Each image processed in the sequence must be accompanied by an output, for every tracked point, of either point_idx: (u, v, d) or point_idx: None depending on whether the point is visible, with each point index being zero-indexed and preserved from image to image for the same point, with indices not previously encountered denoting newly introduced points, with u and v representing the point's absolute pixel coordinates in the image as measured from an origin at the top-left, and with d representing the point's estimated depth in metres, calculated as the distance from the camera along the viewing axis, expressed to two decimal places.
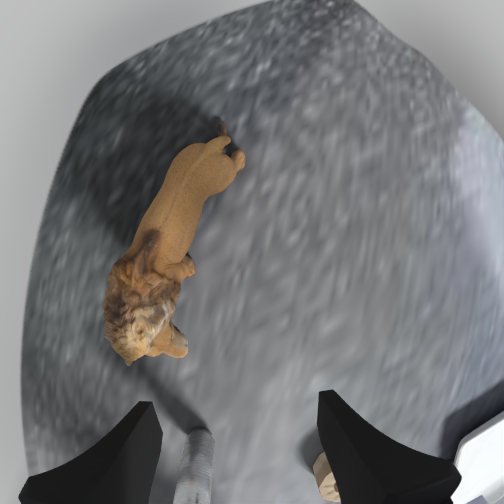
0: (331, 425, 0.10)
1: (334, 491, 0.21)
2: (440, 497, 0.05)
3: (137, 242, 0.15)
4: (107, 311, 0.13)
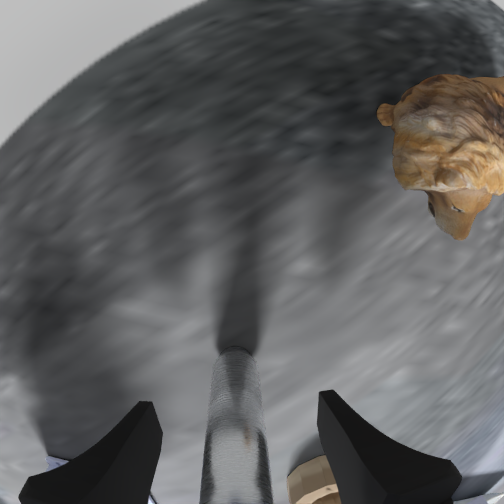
0: (331, 426, 0.10)
1: None
2: (440, 497, 0.05)
3: None
4: (475, 101, 0.06)
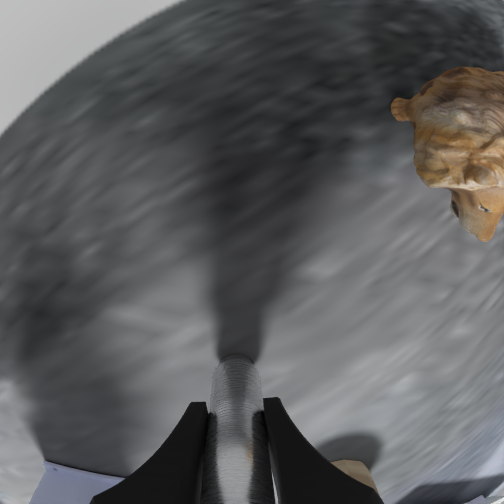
0: (269, 434, 0.10)
1: None
2: None
3: None
4: (503, 95, 0.05)
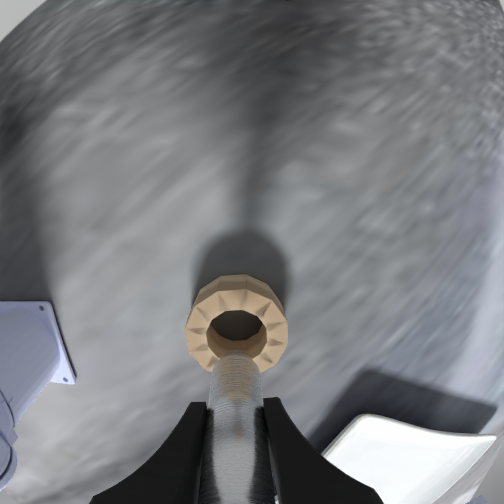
0: (269, 434, 0.10)
1: (204, 333, 0.19)
2: None
3: None
4: None
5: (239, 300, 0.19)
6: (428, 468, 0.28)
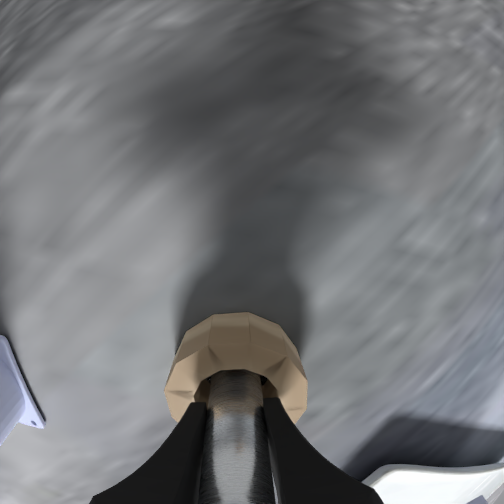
0: (269, 434, 0.10)
1: (192, 397, 0.13)
2: None
3: None
4: None
5: (240, 357, 0.12)
6: (447, 499, 0.22)
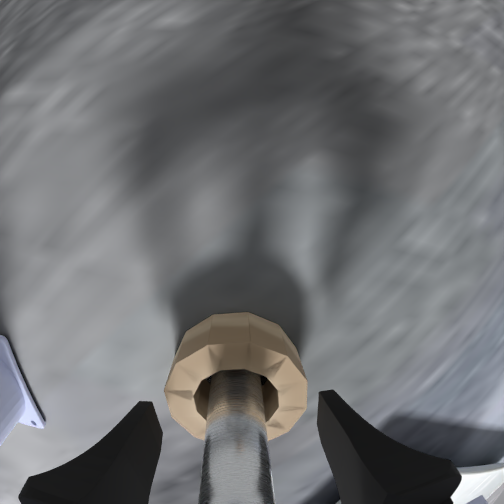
0: (331, 425, 0.10)
1: (192, 397, 0.13)
2: (440, 497, 0.05)
3: None
4: None
5: (240, 357, 0.12)
6: None
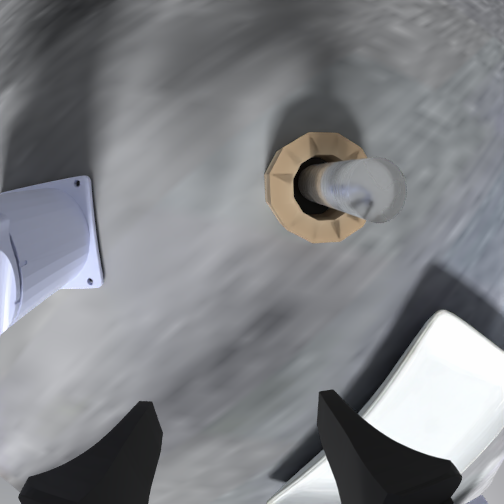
0: (331, 425, 0.10)
1: (291, 181, 0.17)
2: (440, 497, 0.05)
3: None
4: None
5: (330, 144, 0.17)
6: (477, 411, 0.27)
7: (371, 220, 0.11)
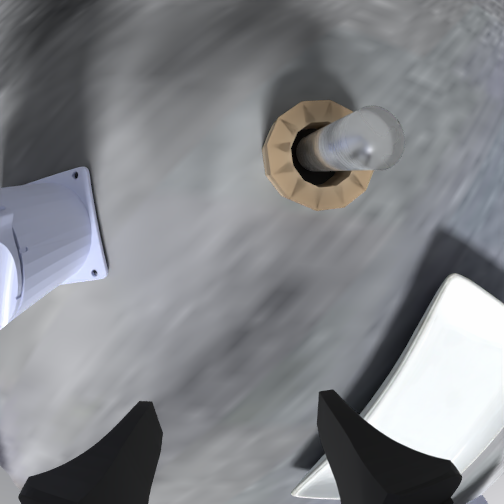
0: (331, 425, 0.10)
1: (289, 150, 0.17)
2: (440, 497, 0.05)
3: None
4: None
5: (324, 111, 0.16)
6: (497, 381, 0.26)
7: (373, 167, 0.10)
